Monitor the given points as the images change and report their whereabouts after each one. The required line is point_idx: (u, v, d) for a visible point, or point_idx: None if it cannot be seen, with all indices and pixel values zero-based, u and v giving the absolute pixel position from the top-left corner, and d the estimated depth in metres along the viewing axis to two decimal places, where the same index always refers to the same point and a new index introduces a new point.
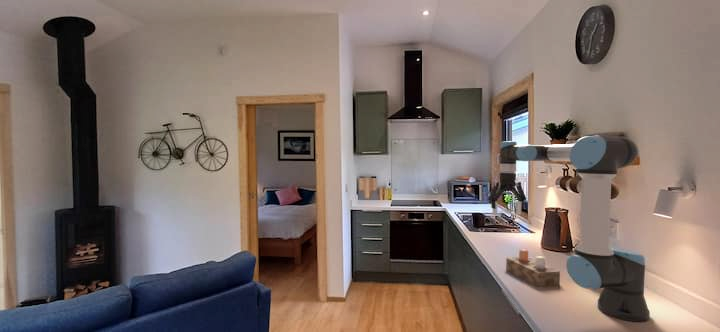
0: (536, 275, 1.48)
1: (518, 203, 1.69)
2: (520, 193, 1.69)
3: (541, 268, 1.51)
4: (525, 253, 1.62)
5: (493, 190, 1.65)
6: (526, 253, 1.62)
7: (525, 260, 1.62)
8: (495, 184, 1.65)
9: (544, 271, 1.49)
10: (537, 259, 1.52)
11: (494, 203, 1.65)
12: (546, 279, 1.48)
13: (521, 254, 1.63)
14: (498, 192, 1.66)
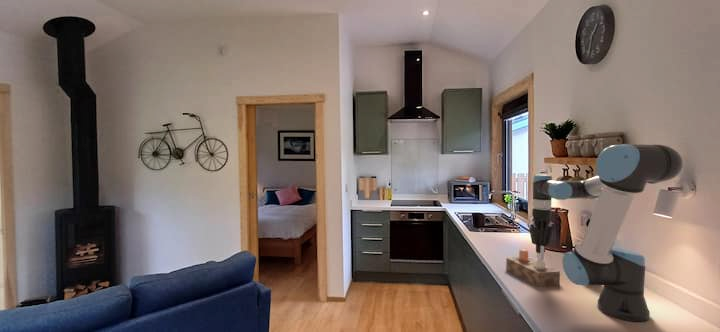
0: (536, 275, 1.48)
1: None
2: (547, 235, 1.54)
3: None
4: (525, 253, 1.62)
5: (532, 233, 1.52)
6: (526, 253, 1.62)
7: (525, 260, 1.62)
8: (530, 227, 1.51)
9: (544, 271, 1.49)
10: (537, 262, 1.52)
11: (539, 247, 1.52)
12: (546, 279, 1.48)
13: (521, 254, 1.63)
14: (537, 233, 1.52)
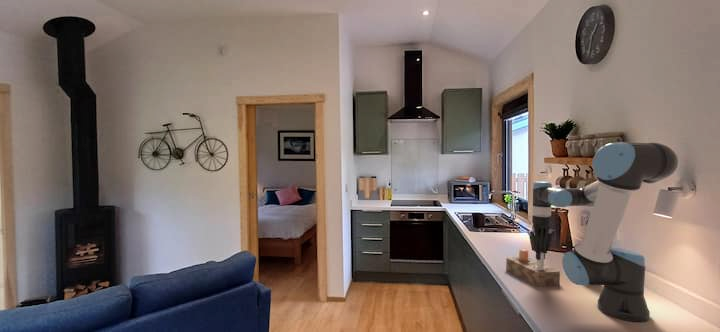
0: (536, 275, 1.48)
1: None
2: (547, 242, 1.54)
3: None
4: (525, 253, 1.62)
5: (532, 240, 1.52)
6: (526, 253, 1.62)
7: (525, 260, 1.62)
8: (530, 234, 1.51)
9: (544, 271, 1.49)
10: None
11: (539, 254, 1.52)
12: (546, 279, 1.48)
13: (521, 254, 1.63)
14: (537, 240, 1.52)
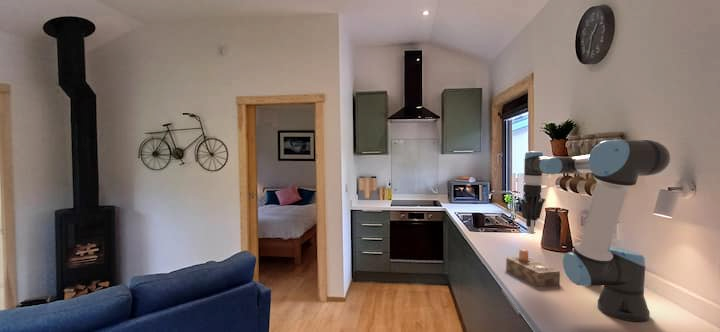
0: (536, 275, 1.48)
1: None
2: (537, 209, 1.60)
3: None
4: (525, 253, 1.62)
5: (523, 208, 1.58)
6: (526, 253, 1.62)
7: (525, 260, 1.62)
8: (521, 202, 1.57)
9: (544, 271, 1.49)
10: None
11: (529, 221, 1.58)
12: (546, 279, 1.48)
13: (521, 254, 1.63)
14: (528, 208, 1.58)
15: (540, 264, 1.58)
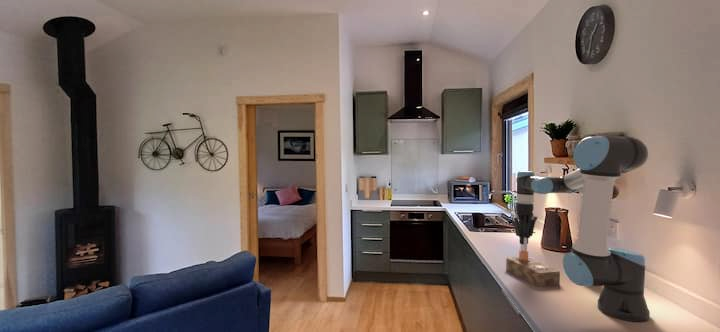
0: (536, 275, 1.48)
1: None
2: (530, 227, 1.64)
3: None
4: (525, 254, 1.62)
5: (516, 226, 1.62)
6: (526, 254, 1.62)
7: (525, 261, 1.62)
8: (514, 220, 1.62)
9: (544, 271, 1.49)
10: None
11: (522, 239, 1.63)
12: (546, 279, 1.48)
13: (521, 255, 1.63)
14: (521, 226, 1.63)
15: (540, 264, 1.58)
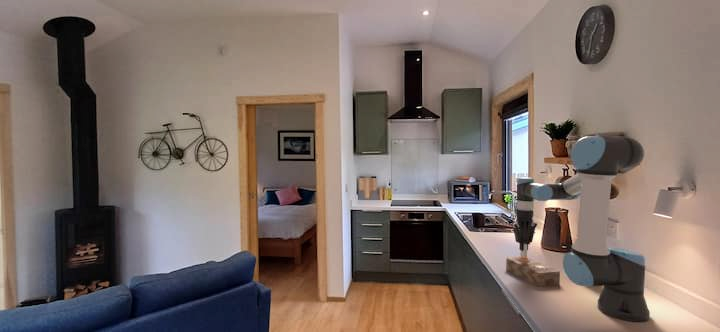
0: (536, 275, 1.48)
1: None
2: (530, 234, 1.64)
3: None
4: (525, 260, 1.62)
5: (515, 232, 1.62)
6: (526, 260, 1.62)
7: None
8: (514, 226, 1.62)
9: (544, 271, 1.49)
10: None
11: (522, 245, 1.63)
12: (546, 279, 1.48)
13: (521, 261, 1.63)
14: (520, 232, 1.63)
15: (540, 264, 1.58)
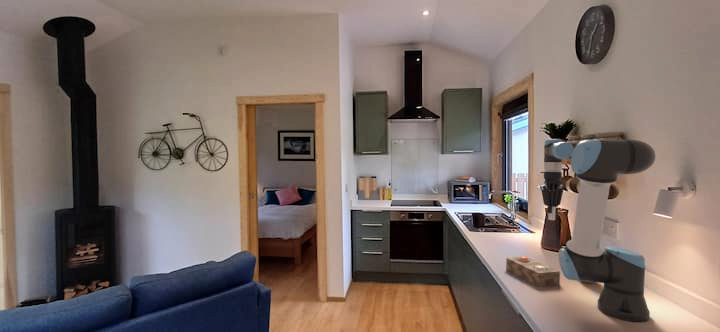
0: (536, 275, 1.48)
1: None
2: (557, 196, 1.62)
3: None
4: (525, 260, 1.62)
5: (544, 194, 1.60)
6: (526, 260, 1.62)
7: None
8: (542, 188, 1.60)
9: (544, 271, 1.49)
10: None
11: (551, 207, 1.61)
12: (546, 279, 1.48)
13: (521, 261, 1.63)
14: (549, 195, 1.61)
15: (540, 264, 1.58)
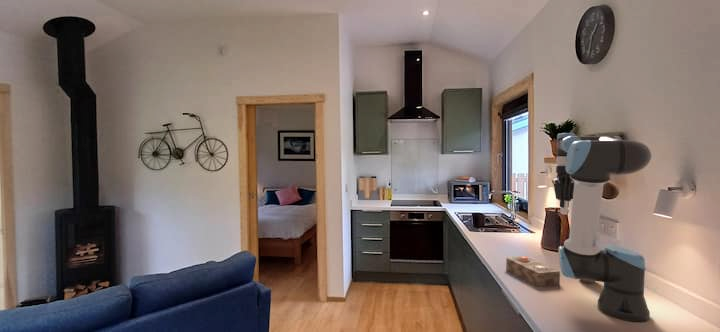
0: (536, 275, 1.48)
1: None
2: (570, 191, 1.62)
3: None
4: (525, 260, 1.62)
5: (556, 189, 1.60)
6: (526, 260, 1.62)
7: None
8: (554, 182, 1.60)
9: (544, 271, 1.49)
10: None
11: (563, 202, 1.60)
12: (546, 279, 1.48)
13: (521, 261, 1.63)
14: (561, 189, 1.61)
15: (540, 264, 1.58)
